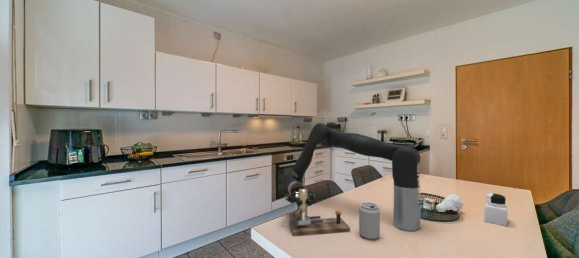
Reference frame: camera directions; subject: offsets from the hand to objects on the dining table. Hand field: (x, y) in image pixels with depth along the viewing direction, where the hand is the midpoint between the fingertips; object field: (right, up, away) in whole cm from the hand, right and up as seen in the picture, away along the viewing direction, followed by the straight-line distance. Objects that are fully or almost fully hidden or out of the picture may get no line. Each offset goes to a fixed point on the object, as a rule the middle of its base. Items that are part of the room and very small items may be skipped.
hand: (304, 203), depth 87 cm
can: (+25, -12, -2) cm, 27 cm away
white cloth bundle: (+71, -11, +20) cm, 74 cm away
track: (+6, -11, +4) cm, 14 cm away
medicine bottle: (+85, -11, +10) cm, 86 cm away
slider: (+2, -9, +3) cm, 10 cm away
